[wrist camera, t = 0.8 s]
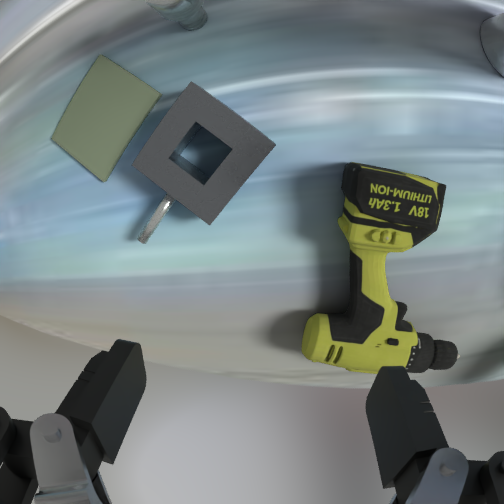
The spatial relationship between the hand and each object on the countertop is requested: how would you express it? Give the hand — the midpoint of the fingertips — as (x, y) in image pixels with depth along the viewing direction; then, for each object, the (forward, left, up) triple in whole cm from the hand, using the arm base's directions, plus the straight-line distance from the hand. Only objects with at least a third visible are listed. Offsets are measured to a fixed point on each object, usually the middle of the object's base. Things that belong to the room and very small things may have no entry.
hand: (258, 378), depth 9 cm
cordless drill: (-4, +19, -26) cm, 33 cm away
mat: (+4, -21, -25) cm, 33 cm away
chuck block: (+3, -8, -25) cm, 27 cm away
